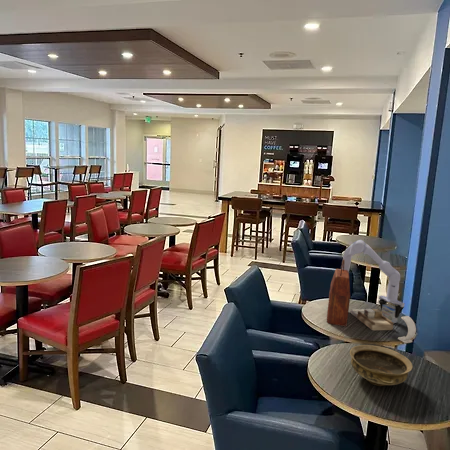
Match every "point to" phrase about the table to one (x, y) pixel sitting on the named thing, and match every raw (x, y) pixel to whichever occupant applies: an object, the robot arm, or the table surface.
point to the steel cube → (369, 313)
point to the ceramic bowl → (380, 364)
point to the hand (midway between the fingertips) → (389, 315)
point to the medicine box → (389, 312)
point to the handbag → (339, 298)
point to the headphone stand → (411, 330)
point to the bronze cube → (377, 313)
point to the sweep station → (373, 321)
